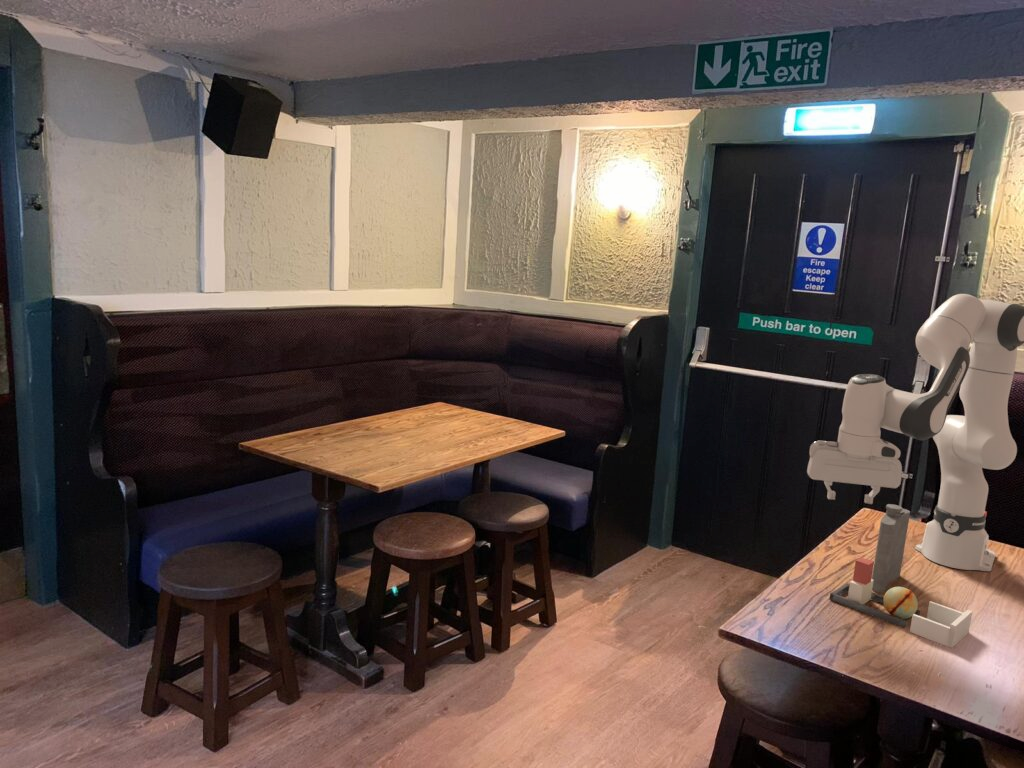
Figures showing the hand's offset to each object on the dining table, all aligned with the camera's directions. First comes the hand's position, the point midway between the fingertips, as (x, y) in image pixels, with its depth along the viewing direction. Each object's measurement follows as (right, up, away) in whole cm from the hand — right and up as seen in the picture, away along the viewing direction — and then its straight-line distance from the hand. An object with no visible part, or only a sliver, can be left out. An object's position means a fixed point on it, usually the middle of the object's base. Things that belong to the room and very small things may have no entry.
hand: (849, 500), depth 183 cm
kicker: (+2, -24, +1) cm, 24 cm away
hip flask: (+14, -23, +13) cm, 29 cm away
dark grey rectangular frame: (+5, -25, -2) cm, 25 cm away
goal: (+15, -27, -12) cm, 33 cm away
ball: (+9, -26, -6) cm, 28 cm away
